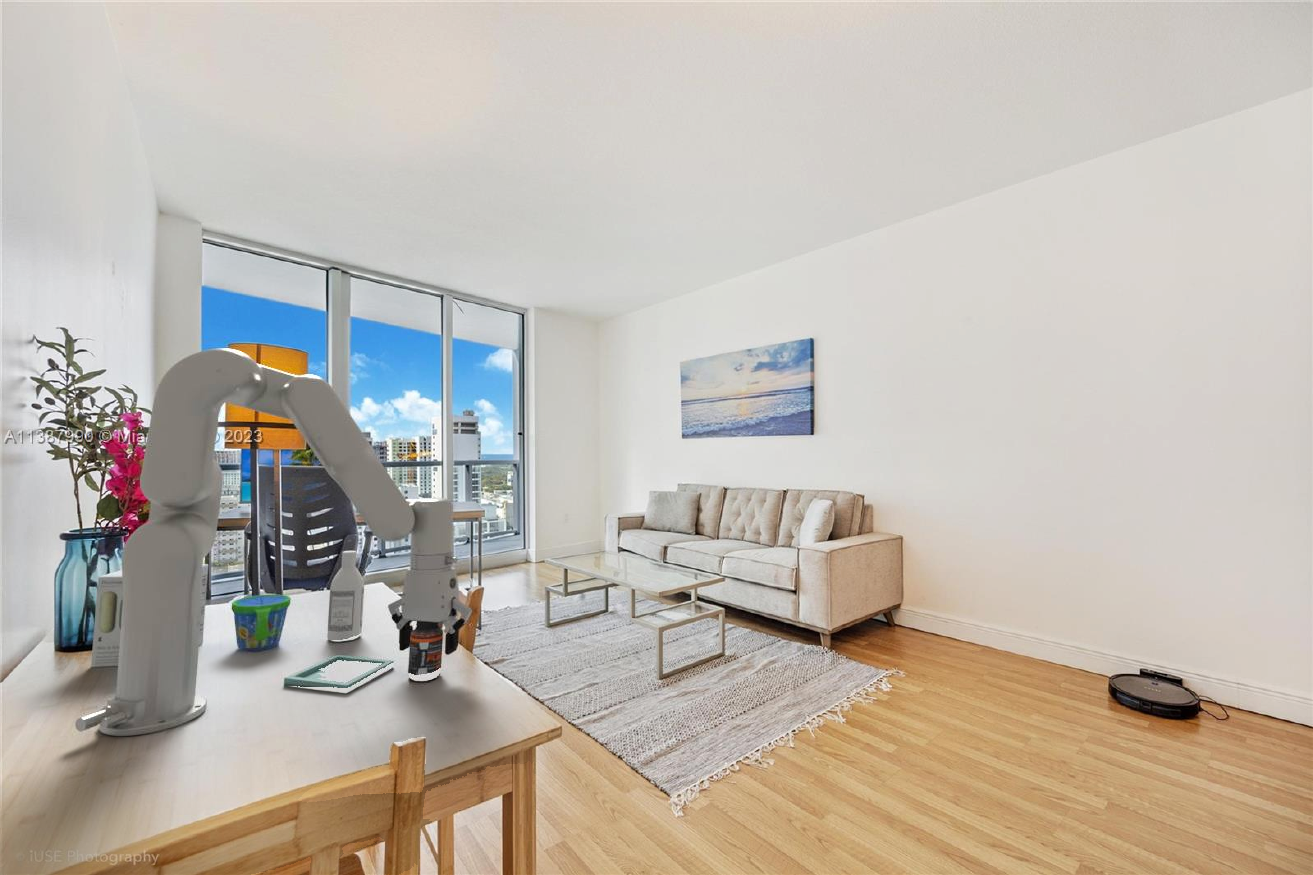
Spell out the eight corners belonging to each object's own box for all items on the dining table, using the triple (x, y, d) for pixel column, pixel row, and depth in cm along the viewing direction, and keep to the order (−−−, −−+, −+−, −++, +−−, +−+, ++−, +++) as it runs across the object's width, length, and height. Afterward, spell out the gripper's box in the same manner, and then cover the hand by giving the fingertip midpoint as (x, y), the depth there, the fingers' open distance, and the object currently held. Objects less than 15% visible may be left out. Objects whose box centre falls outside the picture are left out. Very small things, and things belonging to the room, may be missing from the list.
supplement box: (87, 668, 107) (95, 576, 108) (131, 646, 120) (137, 564, 121) (170, 664, 111) (176, 575, 112) (204, 643, 124) (210, 563, 124)
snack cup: (286, 654, 118) (289, 605, 119) (223, 661, 113) (227, 610, 113) (289, 633, 132) (291, 590, 132) (233, 639, 126) (236, 594, 127)
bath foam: (346, 632, 134) (351, 548, 135) (368, 636, 132) (372, 550, 133) (319, 640, 128) (325, 552, 129) (342, 644, 125) (347, 554, 126)
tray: (346, 694, 99) (346, 685, 100) (283, 686, 102) (284, 678, 102) (393, 668, 112) (393, 660, 112) (336, 662, 115) (337, 654, 115)
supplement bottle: (428, 685, 105) (432, 623, 105) (400, 681, 106) (404, 620, 106) (447, 673, 111) (449, 615, 111) (420, 670, 112) (423, 613, 112)
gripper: (481, 560, 111) (478, 647, 111) (403, 556, 115) (400, 640, 114) (461, 567, 104) (458, 660, 103) (378, 562, 107) (375, 653, 107)
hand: (428, 650), depth 109 cm, fingers open, 9 cm apart
